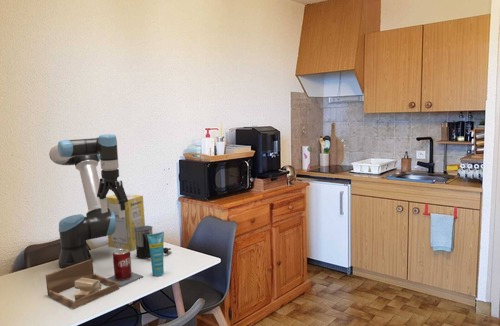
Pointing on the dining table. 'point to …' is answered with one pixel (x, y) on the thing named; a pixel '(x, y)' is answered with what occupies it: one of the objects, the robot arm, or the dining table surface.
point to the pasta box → (126, 221)
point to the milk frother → (144, 242)
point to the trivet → (130, 280)
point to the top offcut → (87, 284)
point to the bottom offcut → (85, 293)
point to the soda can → (122, 264)
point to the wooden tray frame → (67, 279)
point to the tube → (156, 252)
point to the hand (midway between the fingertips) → (113, 214)
